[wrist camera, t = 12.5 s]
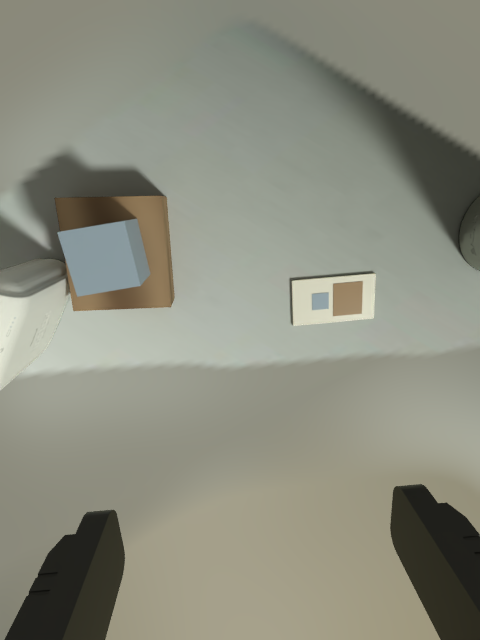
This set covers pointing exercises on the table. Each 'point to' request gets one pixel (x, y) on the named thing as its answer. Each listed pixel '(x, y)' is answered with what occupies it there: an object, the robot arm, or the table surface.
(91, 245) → the top brick
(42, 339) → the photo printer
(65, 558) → the robot arm
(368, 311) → the page
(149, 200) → the base brick
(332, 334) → the table surface
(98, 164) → the table surface
